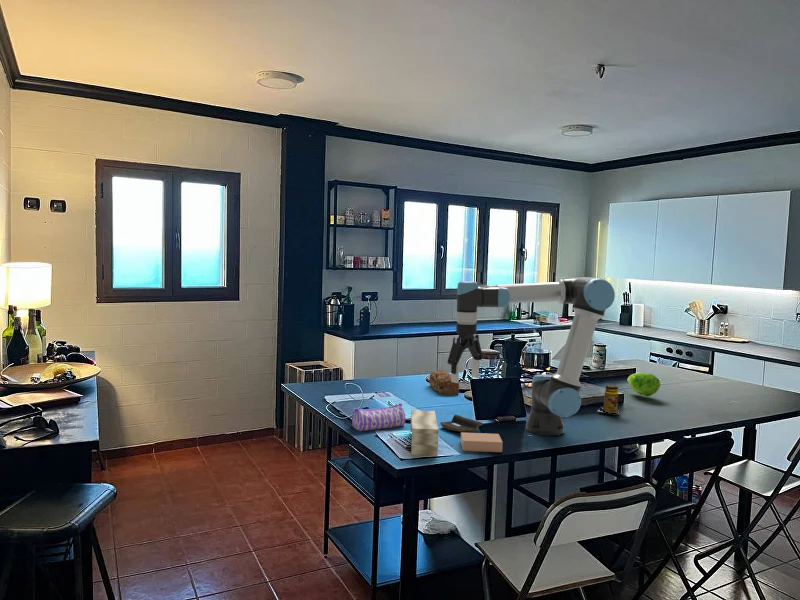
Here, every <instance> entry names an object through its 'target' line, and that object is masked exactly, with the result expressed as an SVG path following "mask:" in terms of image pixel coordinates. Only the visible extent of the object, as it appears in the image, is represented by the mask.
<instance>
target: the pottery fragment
mask: <svg viewBox="0 0 800 600" xmlns="http://www.w3.org/2000/svg"><path fill="white" fill-rule="evenodd" d="M440 426H441V427H442V428H444V429H447V430H451V431H455V432H460V433H461V432H463V433H475V432H477V431H478V430H479V427H480V426H483V422H482V421H480V420H475V419H471V418H468V417H464V416H462V415H458V414H454V415H453V417H452V420H450V421H444V422H442V421H441V422H440Z"/></svg>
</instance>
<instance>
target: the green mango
mask: <svg viewBox="0 0 800 600" xmlns="http://www.w3.org/2000/svg"><path fill="white" fill-rule="evenodd" d="M627 382H628V385H629V386H630V388H631V390H632V391H633V392H635V393H637V394H638V395H641V396H643V395H644V396H645V397H650V396H653V395H654V394H656V393H657V392H658V391H659V390H660V388H661V382H660V379H659V378H657V377H656V376H655V375H654V374H652V373H650V372H649V373H647V372H635V373H632V374H630V375H629V376H628V377H627Z"/></svg>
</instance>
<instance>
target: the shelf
mask: <svg viewBox="0 0 800 600" xmlns="http://www.w3.org/2000/svg"><path fill="white" fill-rule="evenodd" d="M439 430H440V429H439V425H438V421H437V416H436V411H435V410H417V409H416V410H415V409H414V410H410V431H409V432H412V434H411V449H410V451H411V452H410V454H412V456H425V457H426V456H427V457H428V456H429V457H438V455H439V454H438V453H439V451H438V450H439Z"/></svg>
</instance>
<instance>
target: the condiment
mask: <svg viewBox="0 0 800 600" xmlns="http://www.w3.org/2000/svg"><path fill="white" fill-rule="evenodd" d="M618 388H619V387H618V386H617V385H615V384H613V385H612V384H607V385H605V388H604V389H605V390H604V395H603V396H604V397H603V407H601V408H602V409H604V411H605V412H603V411H600V410H599V409H598V410H597V412H600V413H606V412H608V413H607V414H611V413H617V410H618V406H619V392H618ZM617 414H618V413H617Z"/></svg>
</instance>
